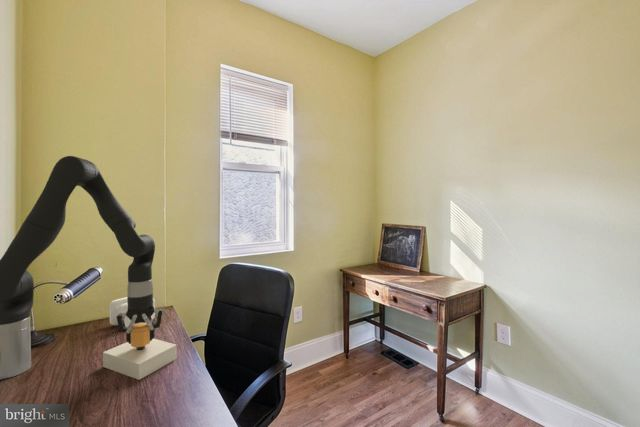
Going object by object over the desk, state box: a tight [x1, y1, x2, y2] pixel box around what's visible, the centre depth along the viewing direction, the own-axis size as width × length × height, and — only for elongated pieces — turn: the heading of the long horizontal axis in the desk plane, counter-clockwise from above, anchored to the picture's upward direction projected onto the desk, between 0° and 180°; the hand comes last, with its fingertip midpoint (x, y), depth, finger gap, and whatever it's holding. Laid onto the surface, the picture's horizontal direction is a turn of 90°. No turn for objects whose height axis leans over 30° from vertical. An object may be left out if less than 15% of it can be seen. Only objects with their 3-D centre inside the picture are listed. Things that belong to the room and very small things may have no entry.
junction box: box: [102, 338, 178, 381], centre depth 103 cm, size 14×18×5 cm
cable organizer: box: [108, 296, 156, 327], centre depth 136 cm, size 15×11×12 cm
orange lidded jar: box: [131, 323, 150, 347], centre depth 102 cm, size 6×6×6 cm
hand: (141, 341), depth 102 cm, fingers closed on orange lidded jar, 5 cm apart
